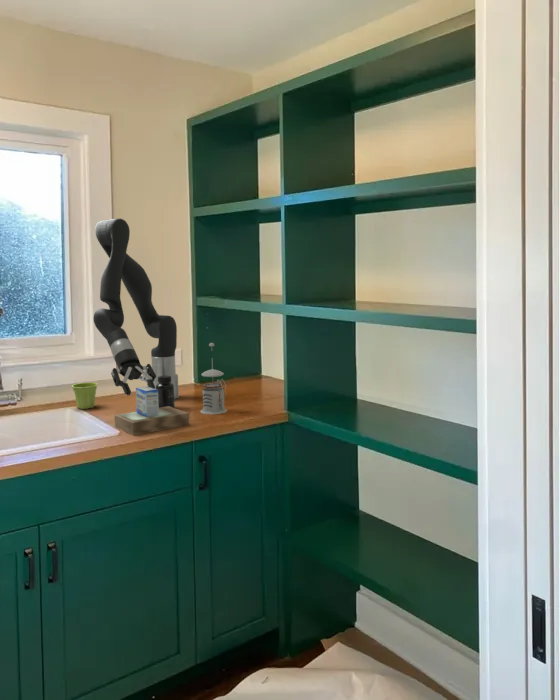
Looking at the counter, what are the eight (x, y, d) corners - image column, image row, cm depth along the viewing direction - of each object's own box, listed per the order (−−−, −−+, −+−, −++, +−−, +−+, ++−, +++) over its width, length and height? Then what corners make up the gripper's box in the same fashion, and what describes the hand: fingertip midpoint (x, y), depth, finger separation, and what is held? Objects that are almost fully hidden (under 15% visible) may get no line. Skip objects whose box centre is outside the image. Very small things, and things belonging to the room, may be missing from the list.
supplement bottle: (173, 405, 248) (172, 374, 247) (176, 409, 242) (175, 377, 240) (155, 407, 246) (153, 375, 245) (157, 411, 240) (156, 378, 238)
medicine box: (136, 413, 218) (135, 387, 216) (148, 411, 220) (147, 385, 219) (146, 417, 211) (145, 391, 210) (159, 415, 214) (158, 389, 213)
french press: (216, 407, 245) (214, 340, 241) (236, 411, 236) (234, 342, 233) (194, 411, 238) (192, 343, 235) (214, 416, 230) (211, 345, 226)
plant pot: (95, 409, 244) (94, 386, 242) (69, 410, 243) (68, 387, 242) (101, 404, 253) (100, 382, 252) (77, 405, 253) (75, 382, 252)
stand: (169, 417, 229) (168, 405, 229) (189, 424, 218) (188, 412, 218) (115, 426, 217) (114, 414, 217) (133, 435, 206) (132, 421, 206)
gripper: (107, 350, 219) (124, 388, 212) (146, 345, 228) (163, 382, 221) (102, 363, 224) (118, 402, 217) (140, 359, 233) (157, 396, 226)
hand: (141, 392), depth 219 cm, fingers open, 8 cm apart
